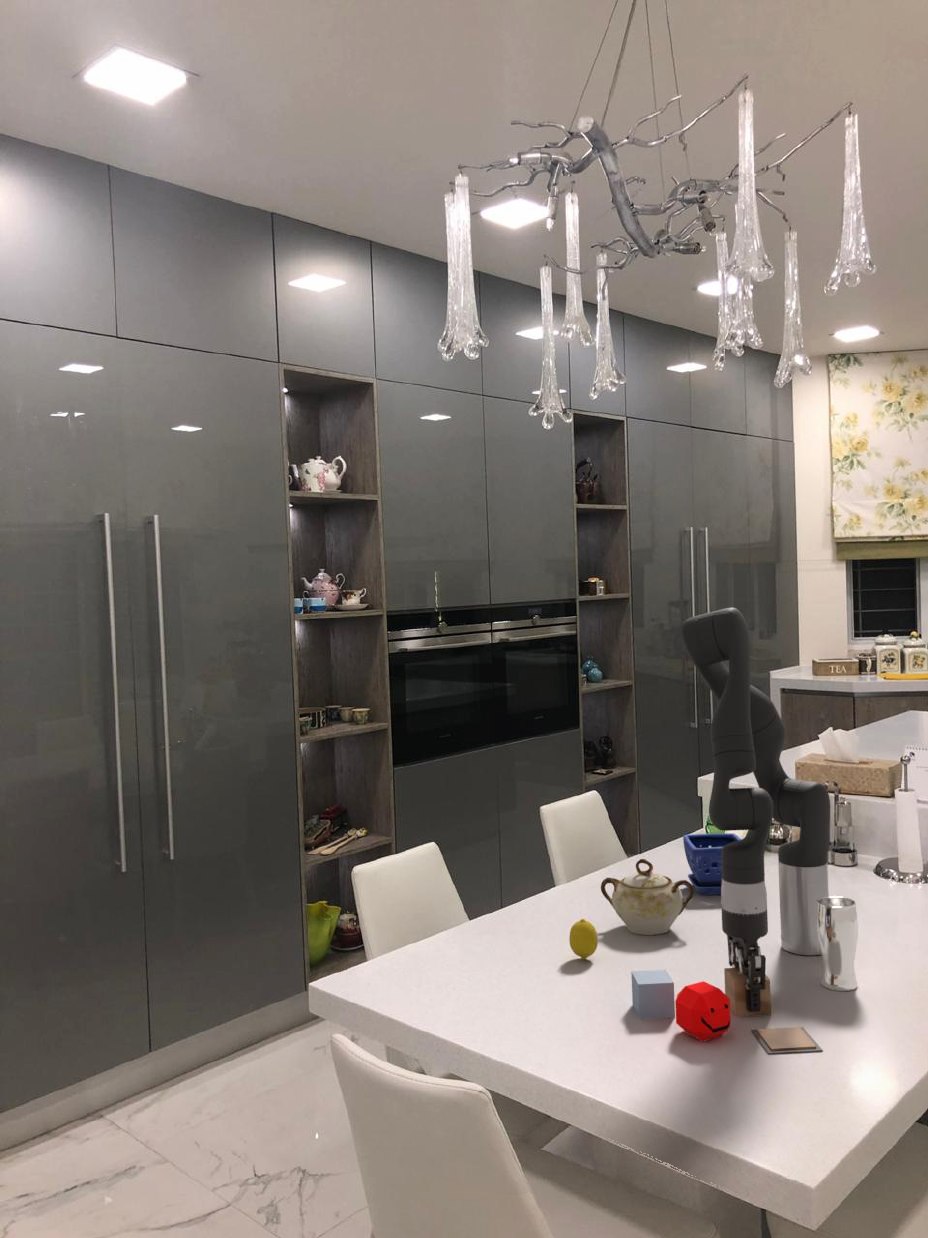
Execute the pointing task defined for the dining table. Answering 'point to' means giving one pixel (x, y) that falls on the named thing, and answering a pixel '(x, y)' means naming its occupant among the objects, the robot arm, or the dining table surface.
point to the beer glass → (837, 941)
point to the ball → (703, 1011)
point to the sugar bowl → (647, 900)
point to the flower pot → (706, 860)
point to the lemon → (583, 939)
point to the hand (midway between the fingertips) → (747, 1003)
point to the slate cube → (653, 994)
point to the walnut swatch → (786, 1040)
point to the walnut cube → (744, 994)
